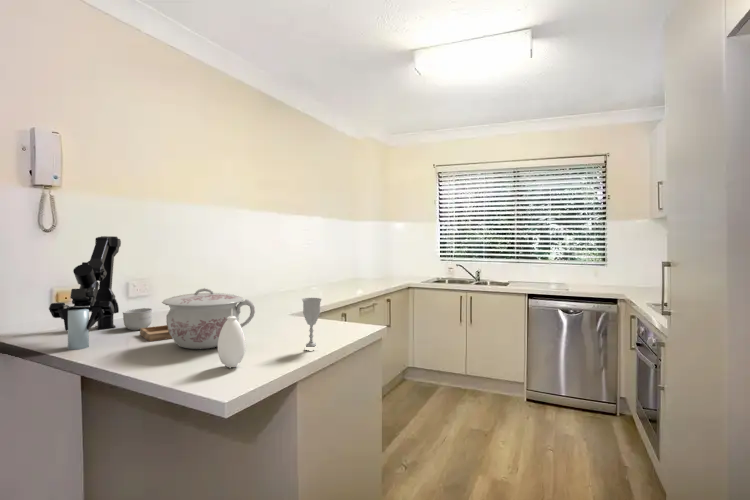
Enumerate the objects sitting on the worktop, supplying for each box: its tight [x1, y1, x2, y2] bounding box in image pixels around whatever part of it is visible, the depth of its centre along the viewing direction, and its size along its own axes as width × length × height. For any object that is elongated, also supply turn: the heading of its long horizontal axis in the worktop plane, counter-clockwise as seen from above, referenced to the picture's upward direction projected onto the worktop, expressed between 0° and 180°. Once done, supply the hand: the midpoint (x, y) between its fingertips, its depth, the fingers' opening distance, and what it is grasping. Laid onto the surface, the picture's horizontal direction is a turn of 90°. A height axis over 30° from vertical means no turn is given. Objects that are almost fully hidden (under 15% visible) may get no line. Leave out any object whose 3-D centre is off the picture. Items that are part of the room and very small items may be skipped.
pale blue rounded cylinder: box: [67, 309, 90, 351], centre depth 145 cm, size 6×6×13 cm
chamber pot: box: [161, 287, 256, 351], centre depth 152 cm, size 28×28×21 cm
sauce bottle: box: [217, 309, 246, 368], centre depth 127 cm, size 8×8×18 cm
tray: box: [139, 324, 173, 343], centre depth 164 cm, size 14×12×3 cm
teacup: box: [122, 307, 153, 331], centre depth 178 cm, size 14×11×8 cm
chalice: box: [301, 297, 323, 347], centre depth 148 cm, size 7×7×18 cm
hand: (76, 329), depth 144 cm, fingers closed on pale blue rounded cylinder, 6 cm apart
